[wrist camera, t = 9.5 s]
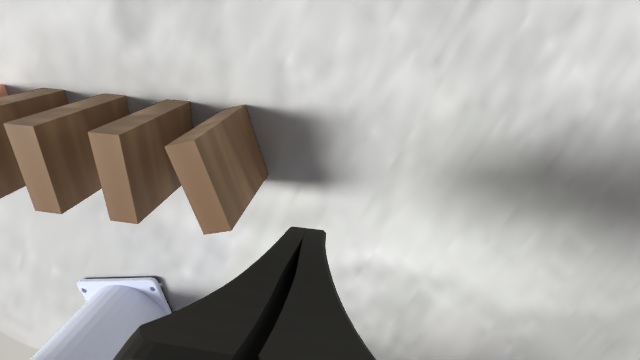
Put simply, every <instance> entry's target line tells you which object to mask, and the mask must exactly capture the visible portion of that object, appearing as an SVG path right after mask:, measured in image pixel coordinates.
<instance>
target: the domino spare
mask: <svg viewBox="0 0 640 360" xmlns="http://www.w3.org/2000/svg"><path fill="white" fill-rule="evenodd" d="M165 149H166V152H167V154H168V156H169V158H170V161H171V163H172V165H173V167H174V169H175V172H176V174H177V176H178V178H179V180H180V183H181V185H182V187H183V189H184V191H185V194H186V196H187V198H188V200H189V203H190V205H191V207H192V209H193V211H194V214H195V216H196V218H197V220H198V222H199V225H200V227H201V229H202V231H203V234H211V233H219V232H226V231H231V230H232V229H233V227H234V226H235V224H236V223H237V221H238V220H239V218H240V217H241V215H242V214H243V212H244V211H245V209H246V208H247V206H248V205H249V203H250V201H251V200H252V198H253V197H254V195H255V194H256V192H257V191H258V189H259V188H260V186H261V185H262V183H263V182H264V180H265V179H266V177H267V176H268V172H267V169H266V166H265V163H264V160H263V157H262V154H261V151H260V148H259V145H258V142H257V139H256V136H255V133H254V130H253V127H252V124H251V121H250V118H249V115H248V112H247V109H246V106H245V105H241V106H237V107H232V108H228V109H224V110H221V111H220V112H218V113H217V114H215V115H214V116H212V117H210V118H209V119H207V120H206V121H204V122H203V123H201V124H199V125H198V126H196V127H195V128H193V129H191V130H190V131H188V132H187V133H185V134H184V135H182V136H180V137H179V138H177V139H176V140H174V141H172V142H171V143H169V144H168V145H166V146H165Z"/></svg>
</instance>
